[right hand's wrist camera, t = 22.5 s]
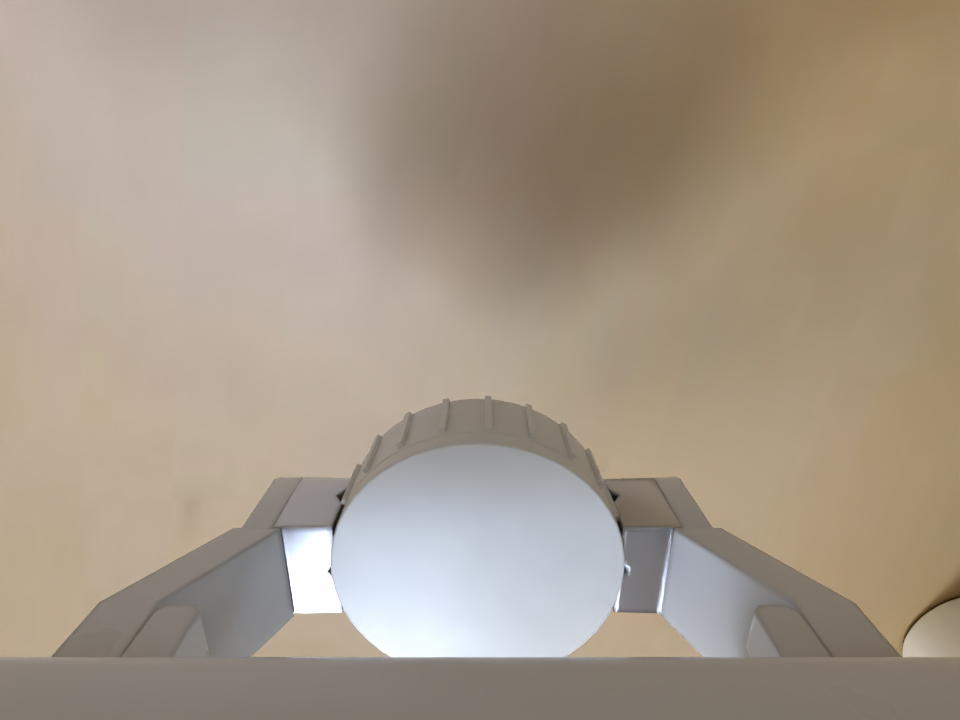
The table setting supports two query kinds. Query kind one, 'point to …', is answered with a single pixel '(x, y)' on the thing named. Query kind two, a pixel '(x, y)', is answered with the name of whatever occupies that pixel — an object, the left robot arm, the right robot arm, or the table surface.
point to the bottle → (935, 633)
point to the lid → (477, 536)
